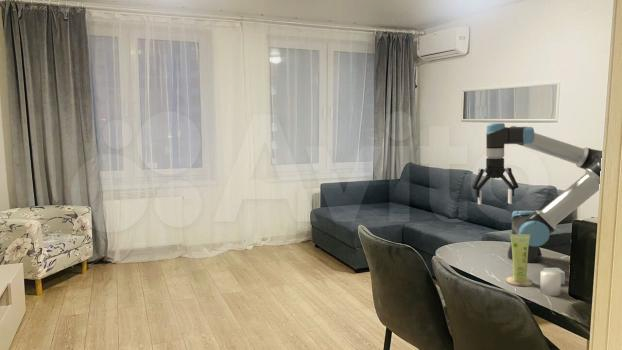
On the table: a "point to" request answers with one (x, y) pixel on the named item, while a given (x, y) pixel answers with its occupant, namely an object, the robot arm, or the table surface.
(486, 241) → the table surface
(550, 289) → the white rounded cylinder
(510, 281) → the trivet
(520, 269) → the tube
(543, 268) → the box
